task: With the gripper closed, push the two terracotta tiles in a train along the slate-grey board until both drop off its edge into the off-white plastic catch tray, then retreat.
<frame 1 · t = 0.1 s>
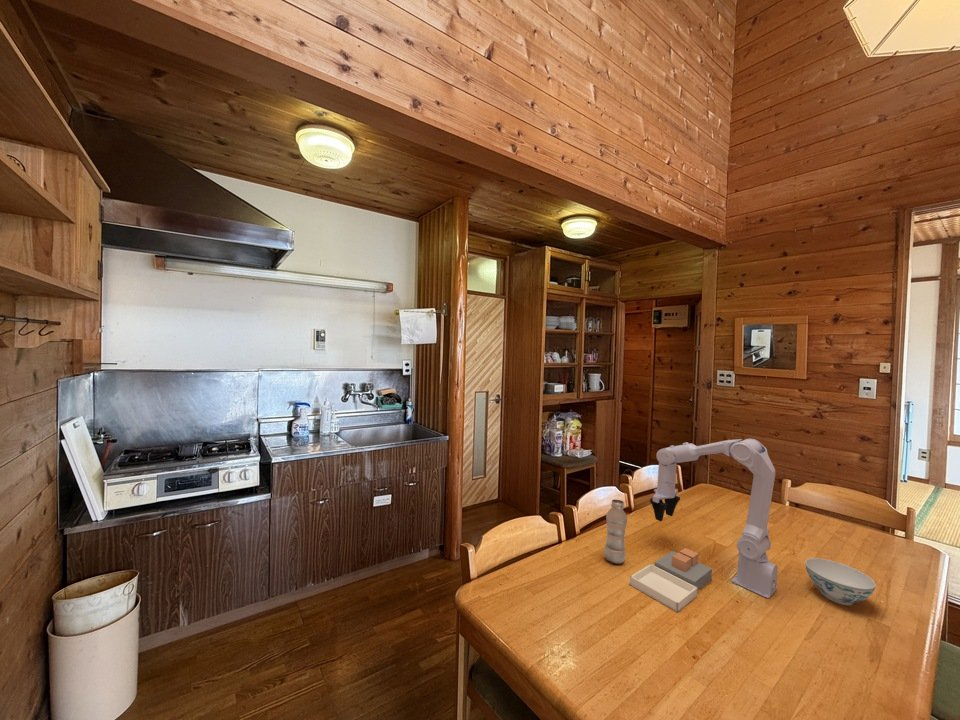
hand: (664, 517, 136), 10 cm above the table, fingers open, 7 cm apart
chinaware: (836, 598, 111), on the table
tile front: (681, 566, 117), point 3 cm above the table, touching board
tray: (662, 590, 110), on the table
board: (682, 576, 118), on the table
plastic bottle: (614, 561, 125), on the table
tile rear: (688, 561, 120), point 3 cm above the table, touching board
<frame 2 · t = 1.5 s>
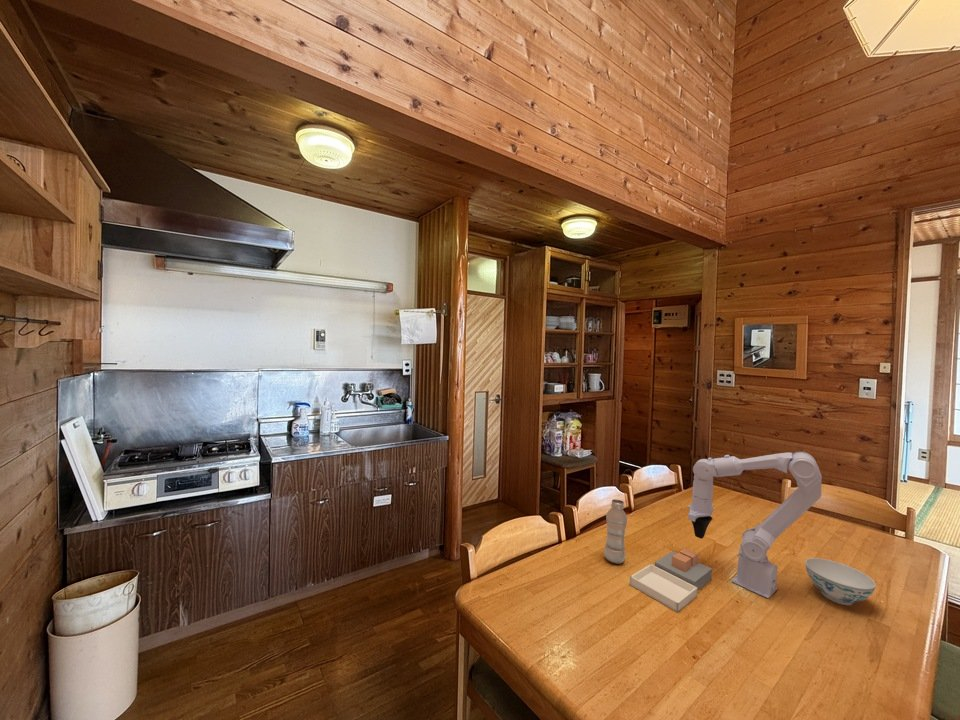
hand: (699, 537, 124), 10 cm above the table, fingers closed
nothing on the table moved.
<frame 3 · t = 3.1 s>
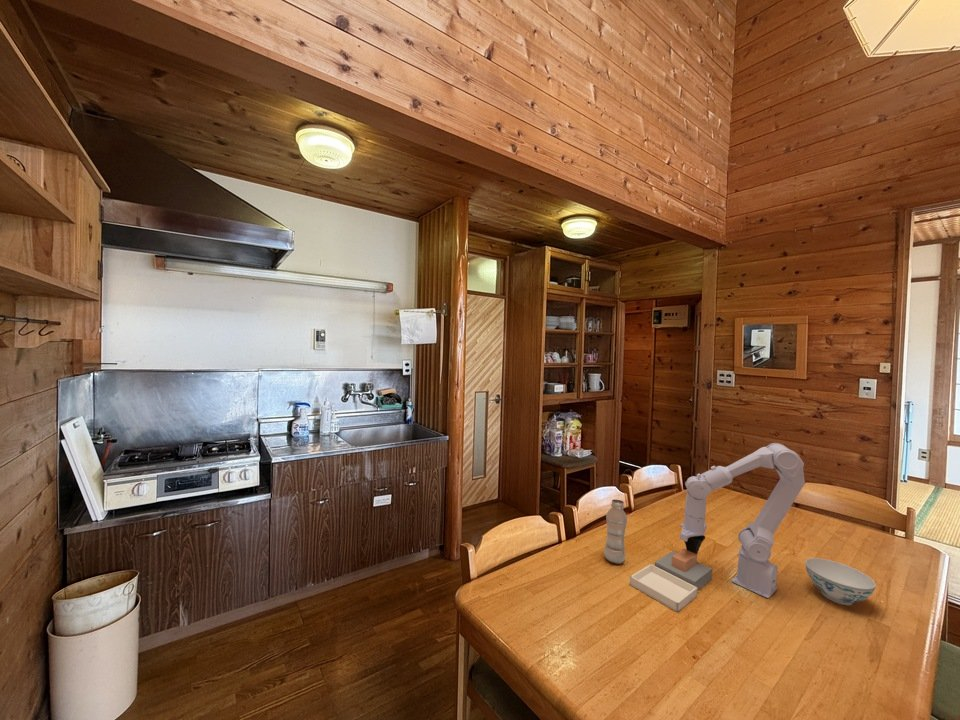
hand: (691, 556, 121), 5 cm above the table, fingers closed
nothing on the table moved.
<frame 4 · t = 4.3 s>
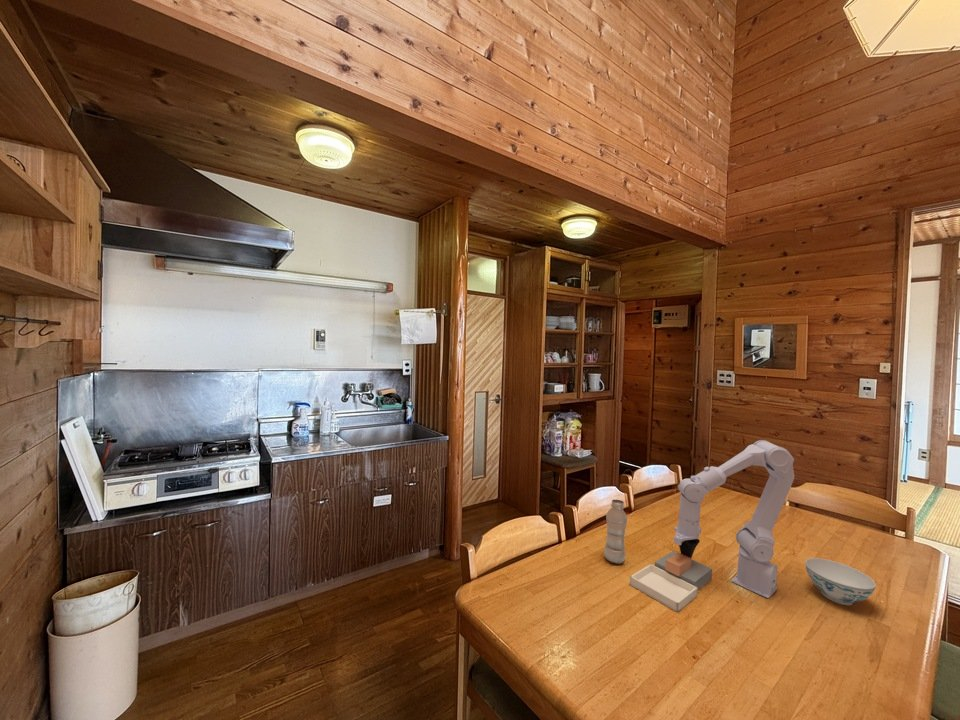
hand: (686, 560, 119), 5 cm above the table, fingers closed
tile front: (675, 570, 114), point 3 cm above the table, touching board, tile rear
tile rear: (681, 566, 117), point 4 cm above the table, touching gripper, tile front
everything else where it was.
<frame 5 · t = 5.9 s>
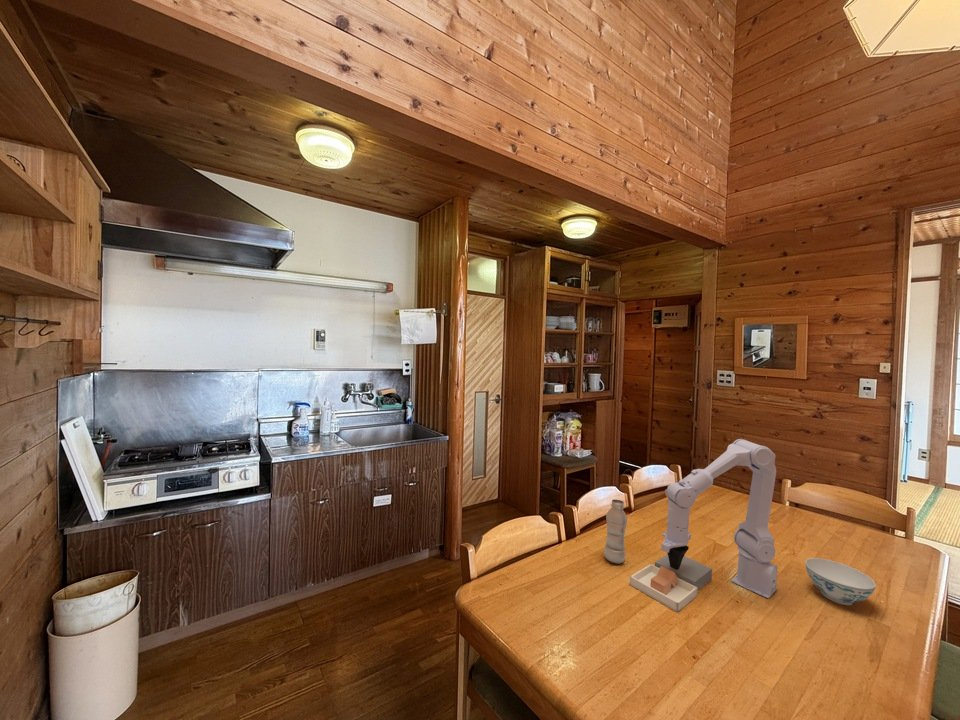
hand: (674, 567, 114), 5 cm above the table, fingers closed
tile front: (661, 580, 109), point 4 cm above the table, tilted 180°, touching tile rear, tray
tile rear: (665, 581, 112), point 2 cm above the table, tilted 43°, touching tile front, tray
everything else where it was.
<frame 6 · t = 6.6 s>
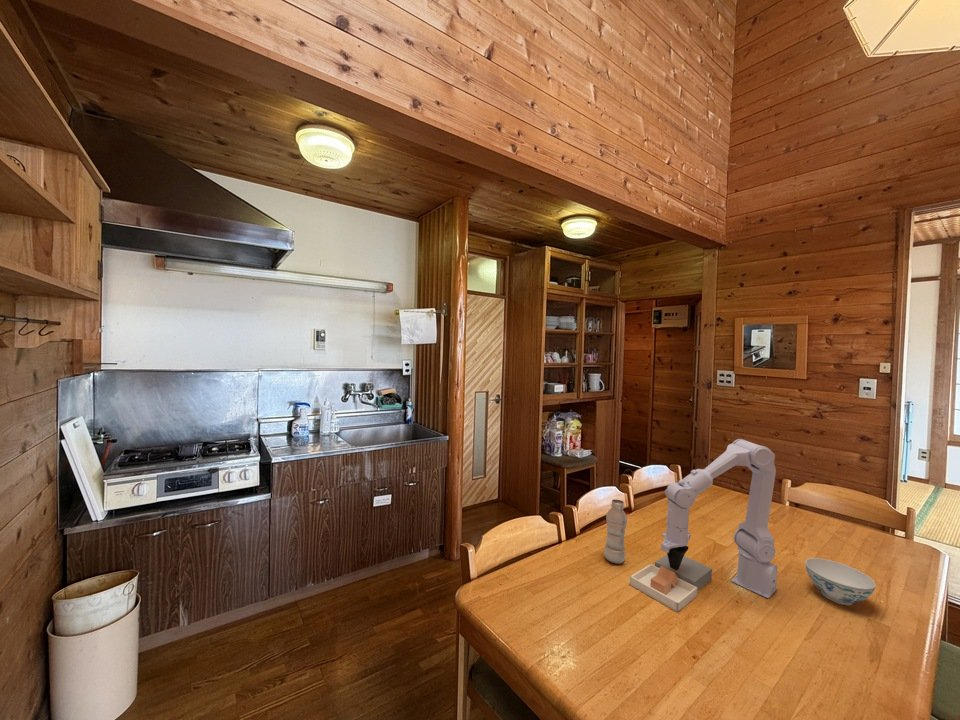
hand: (674, 568, 114), 4 cm above the table, fingers closed
nothing on the table moved.
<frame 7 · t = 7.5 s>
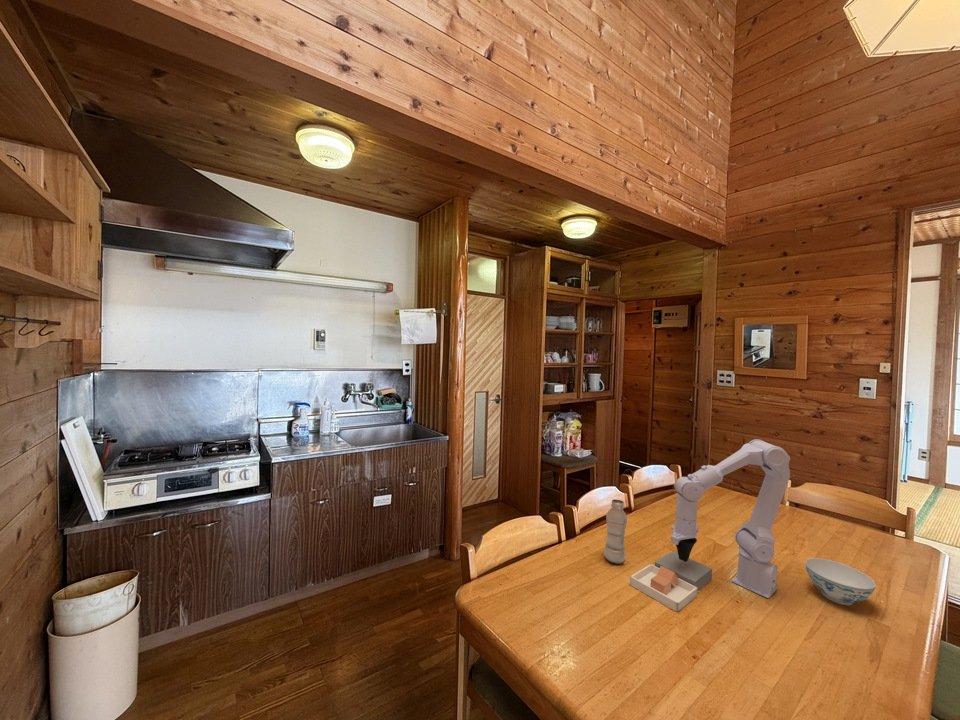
hand: (683, 559, 117), 5 cm above the table, fingers closed
nothing on the table moved.
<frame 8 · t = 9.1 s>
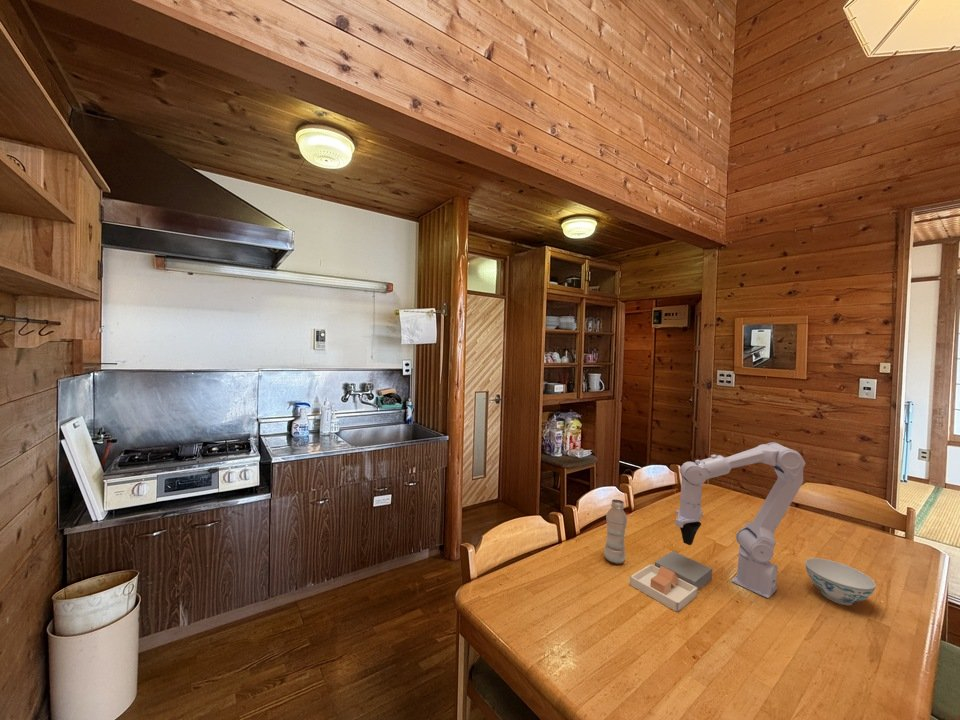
hand: (687, 543, 119), 10 cm above the table, fingers closed
nothing on the table moved.
at the end: tile rear inside the target area on the tray (2.1 cm from its centre), point 1.9 cm above the tray's base; tile front inside the target area on the tray (1.3 cm from its centre), point 3.5 cm above the tray's base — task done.
